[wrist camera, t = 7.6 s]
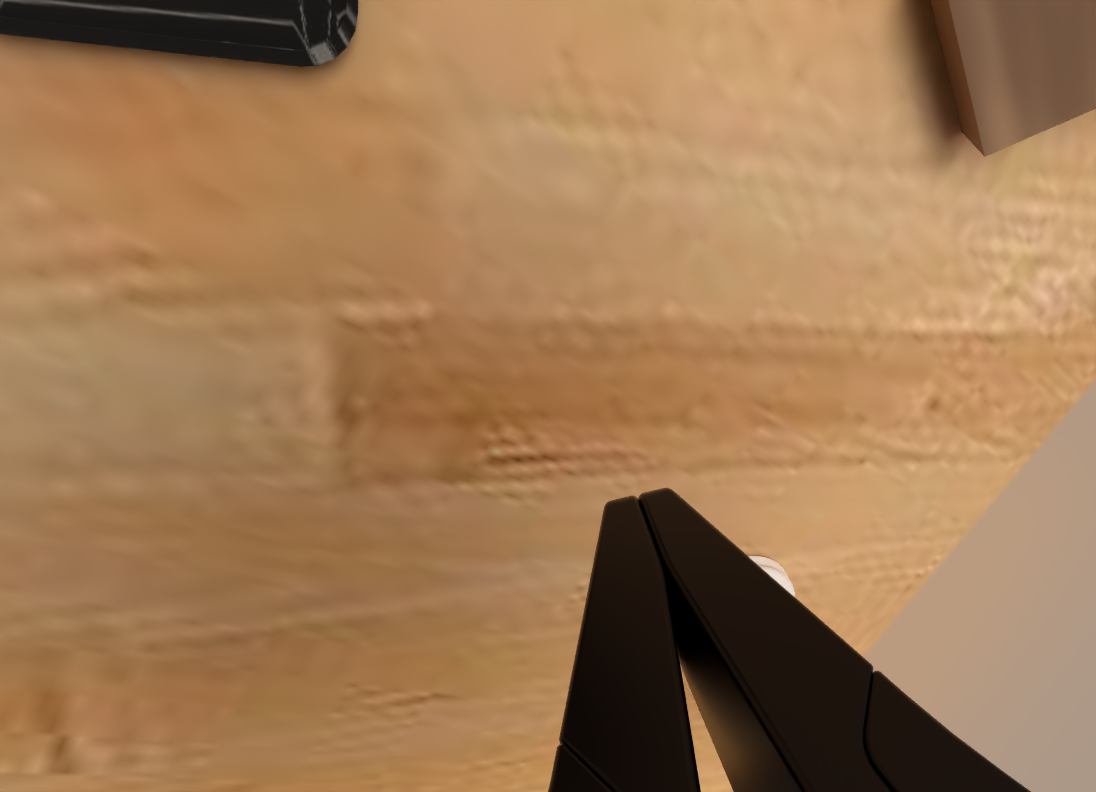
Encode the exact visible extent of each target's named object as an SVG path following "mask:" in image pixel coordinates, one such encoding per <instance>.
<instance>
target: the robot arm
mask: <svg viewBox="0 0 1096 792" xmlns="http://www.w3.org/2000/svg"><path fill="white" fill-rule="evenodd" d="M680 664H681V666H680ZM681 667H682V669H683V672H684V674H685V677H686V680H687V682H688V684H689V687H690V689H691V692H692V694H693V696H694V699H695V701H696V703H697V706H698V708H699V711H700V713H701V715H702V718H703V720H704V722H705V725H706V727H707V730H708V732H709V734H710V737H711V739H712V741H713V744H714V746H715V748H716V751H717V753H718V756H719V758H720V760H721V763H722V765H723V767H724V770H725V772H726V775H727V777H728V779H729V782H730V784H731V786H732V789H733V791H734V792H1031V791H1029V790H1028V789H1027V788H1025V787H1024V786H1022V785H1021V784H1020V783H1018V782H1017V781H1016V780H1014V779H1013V778H1011V777H1010V776H1008V775H1007V774H1006V773H1005V772H1003V771H1002V770H1000V769H999V768H998V767H996V766H995V765H994V764H992V763H991V762H990V761H989V760H987V759H986V758H985V757H983V756H982V755H980V754H979V753H978V752H977V751H975V750H974V749H973V748H971V747H970V746H969V745H967V744H966V743H965V742H963V741H962V740H961V739H959V738H958V737H957V736H955V735H954V734H953V733H952V732H950V731H949V730H948V729H947V728H945V727H944V726H943V725H942V724H941V723H940V722H938V721H937V720H936V719H935V718H933V717H932V716H931V715H930V714H929V713H927V712H926V711H925V710H924V709H922V708H921V707H920V706H919V705H918V704H917V703H915V702H914V701H913V700H912V699H911V698H909V697H908V696H907V695H906V694H905V693H904V692H902V691H901V690H900V689H899V688H898V687H897V686H896V685H894V684H893V683H892V682H891V681H890V680H889V679H888V678H887V677H885V676H884V675H883V674H882V673H881V672H879V671H874V672H873V666H872V665H871V664H870V663H869V662H868V661H867V660H866V659H865V658H863V657H862V656H861V655H860V654H859V653H858V652H857V651H855V650H854V649H853V648H852V647H851V646H850V645H849V644H848V643H846V642H845V641H844V640H843V639H842V638H841V637H840V636H838V635H837V634H836V633H835V632H834V631H833V630H832V629H830V628H829V627H828V626H827V625H826V624H825V623H824V622H822V621H821V620H820V619H819V618H818V617H817V616H816V615H814V614H813V613H812V612H811V611H810V610H809V609H808V608H806V607H805V606H804V605H803V604H802V603H801V602H800V601H798V600H797V599H796V598H795V597H794V596H793V595H792V594H791V593H789V592H788V591H787V590H786V589H785V588H784V587H783V586H781V585H780V584H779V583H778V582H777V581H776V580H775V579H773V578H772V577H771V576H770V575H769V574H768V573H767V572H765V571H764V570H763V569H762V568H761V567H760V566H759V565H757V564H756V563H755V562H754V561H753V560H752V559H751V558H749V557H748V556H747V555H746V554H745V553H744V552H743V551H741V550H740V549H739V548H738V547H737V546H736V545H735V544H734V543H732V542H731V541H730V540H729V539H728V538H727V537H726V536H724V535H723V534H722V533H721V532H720V531H719V530H718V529H716V528H715V527H714V526H713V525H712V524H711V523H710V522H708V521H707V520H706V519H705V518H704V517H703V516H702V515H700V514H699V513H698V512H697V511H696V510H695V509H694V508H692V507H691V506H690V505H689V504H688V503H687V502H686V501H684V500H683V499H682V498H681V497H680V496H679V495H678V494H676V493H675V492H674V491H673V490H671V489H669V488H663V489H658V490H654V491H650V492H646V493H642V494H641V495H640V496H639V499H637V498H636V497H635V496H629V497H624V498H620V499H616V500H612V501H609V502H607V503H606V505H605V507H604V511H603V516H602V521H601V527H600V532H599V537H598V542H597V547H596V552H595V557H594V563H593V568H592V573H591V578H590V583H589V588H588V593H587V599H586V604H585V609H584V614H583V619H582V624H581V629H580V635H579V640H578V645H577V650H576V655H575V660H574V666H573V671H572V676H571V681H570V686H569V691H568V696H567V702H566V707H565V712H564V717H563V722H562V727H561V732H560V738H559V741H560V744H561V745H559V746H558V747H557V751H556V756H555V761H554V766H553V771H552V776H551V781H550V786H549V790H548V792H701V790H700V784H699V778H698V772H697V765H696V759H695V753H694V747H693V741H692V734H691V728H690V722H689V716H688V710H687V704H686V697H685V691H684V685H683V679H682V673H681Z"/></svg>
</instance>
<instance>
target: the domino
mask: <svg viewBox="0 0 1096 792" xmlns="http://www.w3.org/2000/svg"><path fill="white" fill-rule="evenodd" d="M930 2H931V6H932V11H933V15H934V19H935V23H936V27H937V31H938V35H939V39H940V43H941V47H942V51H943V55H944V59H945V63H946V67H947V71H948V75H949V80H950V84H951V88H952V92H953V96H954V100H955V104H956V108H957V112H958V116H959V120H960V124H961V128H962V132H963V133H964V134H965V135H966V137H967V138H968V139H969V140H970V141H971V142H972V143H973V144H974V145H975V146H976V148H977V149H978V150H979V151H980V152H981V153H982V154H983V155H984V156H987V155H989V154H992V153H994V152H996V151H999V150H1001V149H1003V148H1006V147H1008V146H1010V145H1013V144H1015V143H1017V142H1019V141H1022V140H1024V139H1026V138H1029V137H1031V136H1033V135H1036V134H1038V133H1040V132H1042V131H1045V130H1047V129H1049V128H1052V127H1054V126H1056V125H1059V124H1061V123H1063V122H1066V121H1068V120H1070V119H1072V118H1075V117H1077V116H1079V115H1082V114H1084V113H1086V112H1089V111H1091V110H1093V109H1095V108H1096V0H930Z"/></svg>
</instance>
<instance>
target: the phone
mask: <svg viewBox="0 0 1096 792" xmlns="http://www.w3.org/2000/svg"><path fill="white" fill-rule="evenodd" d="M357 15H358V0H0V34H4V35H13V36H22V37H32V38H41V39H50V40H60V41H69V42H78V43H87V44H97V45H106V46H115V47H125V48H134V49H143V50H152V51H162V52H171V53H180V54H189V55H199V56H208V57H217V58H227V59H236V60H245V61H254V62H264V63H273V64H282V65H292V66H301V67H302V66H319V65H322V64H324V63H326V62H329V61H331V60H333V59H335V58H336V57H337V56H338V55H339V54H340V53H341V52H342V51H344V50H345V49H346V48H347V46H348V44H349V42H350V40H351V38H352V36H353V34H354V32H355V28H356V21H357Z"/></svg>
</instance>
